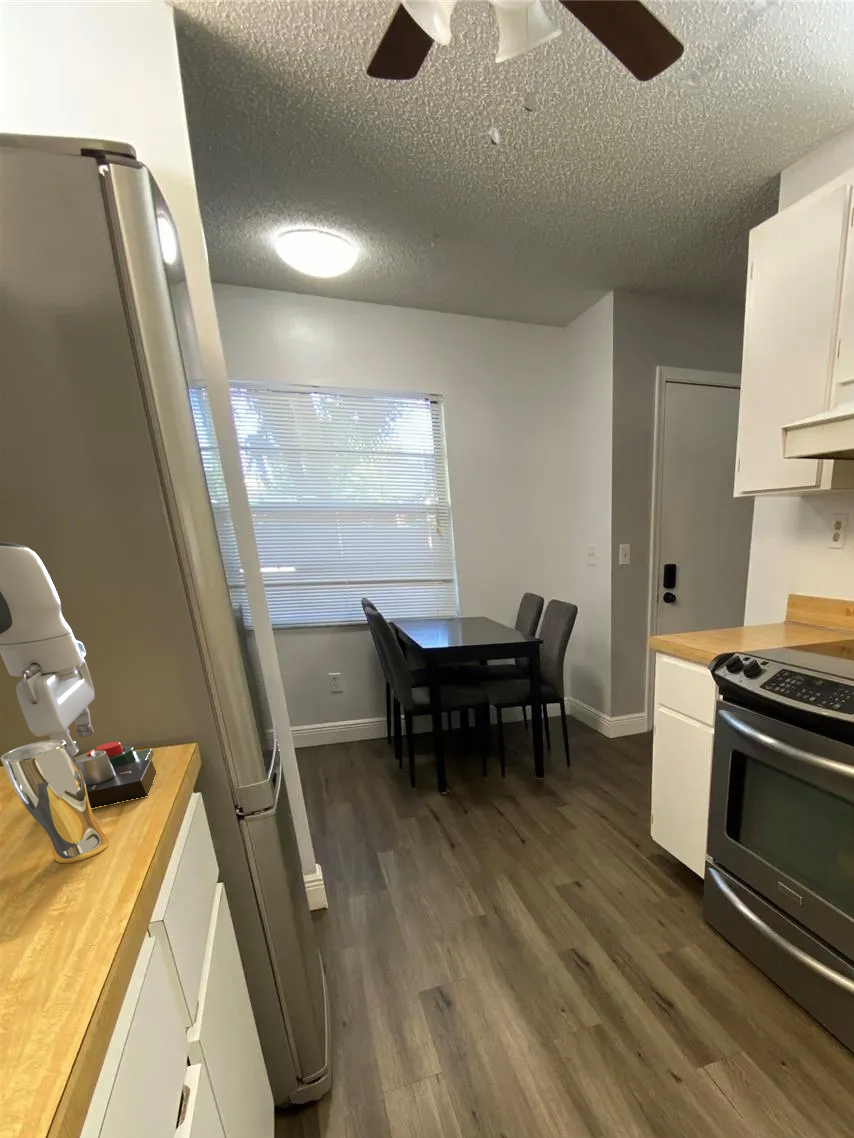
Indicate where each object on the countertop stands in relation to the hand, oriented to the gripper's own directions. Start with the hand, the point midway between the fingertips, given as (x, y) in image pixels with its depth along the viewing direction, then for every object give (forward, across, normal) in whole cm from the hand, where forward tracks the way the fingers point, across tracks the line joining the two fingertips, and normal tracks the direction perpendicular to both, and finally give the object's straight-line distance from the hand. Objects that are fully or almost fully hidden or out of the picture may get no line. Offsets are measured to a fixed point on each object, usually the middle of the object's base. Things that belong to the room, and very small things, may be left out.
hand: (79, 744), depth 98 cm
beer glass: (+9, -20, -2) cm, 22 cm away
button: (+6, +10, -1) cm, 12 cm away
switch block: (+9, +10, -1) cm, 14 cm away
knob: (+6, 0, -1) cm, 6 cm away
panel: (+9, 0, -1) cm, 9 cm away
